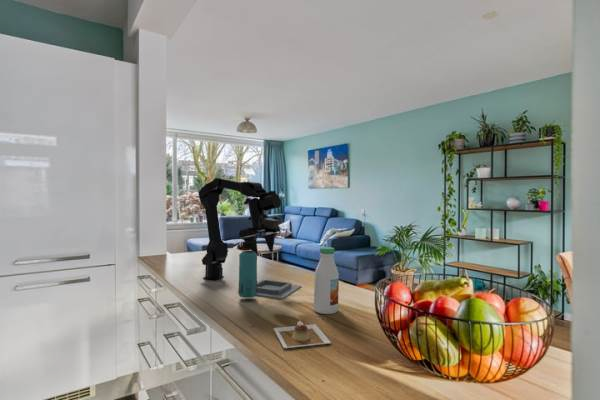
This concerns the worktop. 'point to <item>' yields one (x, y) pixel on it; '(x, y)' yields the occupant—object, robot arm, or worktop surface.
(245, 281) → the beverage bottle
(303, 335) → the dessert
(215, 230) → the robot arm
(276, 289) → the grey square base plate
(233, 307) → the worktop surface
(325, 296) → the milk bottle
